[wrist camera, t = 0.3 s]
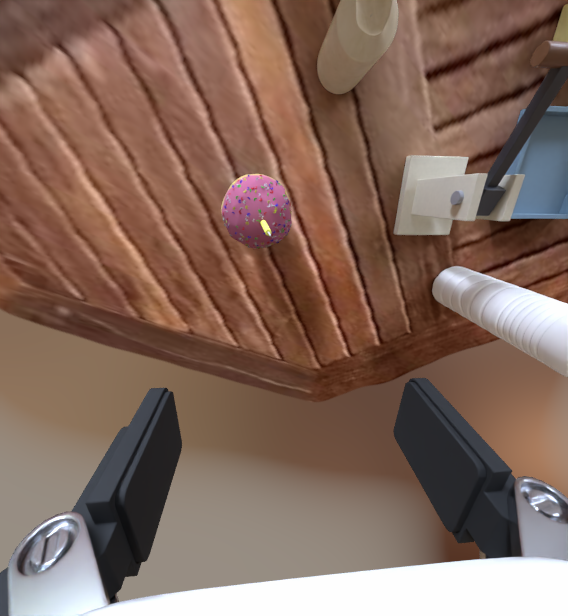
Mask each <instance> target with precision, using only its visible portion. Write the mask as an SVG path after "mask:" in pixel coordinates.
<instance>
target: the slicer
mask: <svg viewBox="0 0 568 616" xmlns="http://www.w3.org/2000/svg"><path fill="white" fill-rule="evenodd" d="M468 158H469V157H447V156H408V157H406V163H405V169H404V174H403V180H402V186H401V192H400V198H399V204H398V209H397V215H396V221H395V227H394V233H393V234H396V235H449V233H450V229H451V225H452V221H453V220H461V221H475V219H485V220H494V221H510V219H511V216H512V213H513V210H514V207H515V204H516V201H517V198H518V195H519V192H520V189H521V186H522V183H523V180H524V177H525V175H524V174H515V175H504V177H503V178H502V180H501V181H500V183H499V186H501V187H502V188H503V189H505V190H506V191H505V193H504V194H503V196H502V197H501V199H500V200H499V202H498V203H497V205H496V206H495V208H494V209H493V210H492V212H491V213H490V215H489V216H476V214H477V210H478V207H479V203H480V200H481V196H482V193H483V189H484V186H485V182H486V179H487V175H488V174H481V173H478V174H469V175H464V174H465V170H466V166H467V162H468Z"/></svg>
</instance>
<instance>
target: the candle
mask: <svg viewBox="0 0 568 616" xmlns="http://www.w3.org/2000/svg"><path fill="white" fill-rule="evenodd" d="M397 26H398V5H397V1H396V0H341V1H340V3H339V6H338V8H337V10H336V13H335V15H334V18H333V20H332V22H331V25H330V27H329V30H328V32H327V34H326V37H325V39H324V41H323V44H322V46H321V49H320V52H319V55H318V60H317V72H318V76H319V79H320V82H321V84H322V85H323V86H324V88H325V89H326V90H328V91H329V92H331V93H333V94H344V93H346V92H348V91H350V90H351V89H353V88H354V87H355V86H356V85H357V84H358V82H359V81H360V80H361V79H362V78H363V77H364V76H365V74H366V73H367V72H368V71H369V70H370V69H371V68H372V66H373V65H374V64H375V63H376V62H377V61H378V60H379V58H380V57H381V56H382V55H383V54H384V53H385V52H386V50H387V49H388V48H389V46H390V45H391V43H392V41H393V39H394V37H395V34H396V30H397Z"/></svg>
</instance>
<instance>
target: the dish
mask: <svg viewBox="0 0 568 616" xmlns="http://www.w3.org/2000/svg"><path fill="white" fill-rule="evenodd" d="M526 109H527V108H526ZM526 109H523V110H521V112H520V115H519V118H518V122H519V120H520V119H521V117H522V115H523V114H524V112H525V110H526ZM518 122H517V124H518ZM515 174H524V175H525V177H524V180H523V183H522V186H521V189H520V192H519V195H518V198H517V201H516V204H515V207H514V210H513V213H512V216H511V219H568V107H565V106H549V107H548V109H547V111H546V112H545V114H544V115H543V117H542V118H541V120H540V121H539V123H538V124H537V126H536V127H535V129H534V131H533V132H532V134H531V135H530V137H529V138H528V140H527V141H526V143H525V144H524V146H523V148H522V149H521V151H520V152H519V154H518V155H517V157H516V158H515V160H514V161H513V163H512V165H511V166H510V168H509V169H508V171H507V172H506V174H505V175H515Z"/></svg>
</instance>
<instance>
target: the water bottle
mask: <svg viewBox="0 0 568 616" xmlns="http://www.w3.org/2000/svg"><path fill="white" fill-rule="evenodd" d="M432 294H433V296H434V298H435V299H436V300H437V301H438V302H439V303H441V304H443V305H444V306H446V307H448V308H450V309H451V310H453V311H455V312H457V313H458V314H460V315H461V316H463V317H465V318H467V319H469V320H470V321H471V322H473V323H476V324H477V325H478V326H480V327H482V328H483V329H486V330H488V331H489V332H490V333H492V334H493V335H495V336H497V337H499V338H501V339H503V340H505V341H506V342H508V343H510V344H511V345H513V346H515V347H516V348H518V349H520V350H522V351H523V352H525V353H527V354H529V355H530V356H532V357H534V358H536V359H537V360H538V361H540V362H543V363H544V364H545V365H547V366H548V367H550V368H552V369H553V370H555V371H556V372H558V373H560V374H562V375H563V376H566V377H568V304H567V303H563V302H561V301H558V300H555V299H552V298H549V297H546V296H544V295H540V294H538V293H535V292H533V291H530V290H527V289H524V288H520V287H518V286H516V285H513V284H510V283H506V282H504V281H501V280H498V279H495V278H492V277H490V276H487V275H483V274H481V273H478V272H475V271H472V270H470V269H467V268H464V267H460V266H453V267H450V268H447V269H445V270H444V271H442V272H441V273H440V274H439V276H437V277H436V279H435V280H434V283H433V288H432Z"/></svg>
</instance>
